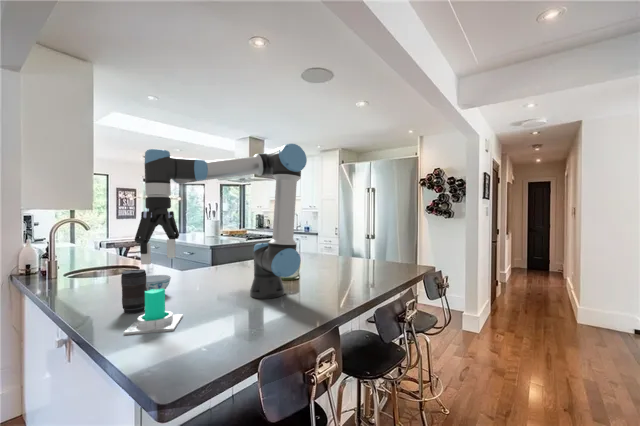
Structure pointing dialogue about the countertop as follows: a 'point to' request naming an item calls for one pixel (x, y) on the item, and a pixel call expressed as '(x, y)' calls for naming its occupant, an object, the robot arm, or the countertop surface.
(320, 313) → the countertop surface
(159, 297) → the candle
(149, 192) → the robot arm
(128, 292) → the camera lens
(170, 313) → the duct flange
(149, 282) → the chinaware
